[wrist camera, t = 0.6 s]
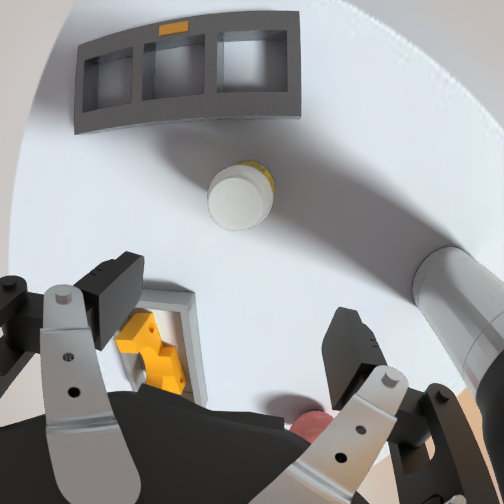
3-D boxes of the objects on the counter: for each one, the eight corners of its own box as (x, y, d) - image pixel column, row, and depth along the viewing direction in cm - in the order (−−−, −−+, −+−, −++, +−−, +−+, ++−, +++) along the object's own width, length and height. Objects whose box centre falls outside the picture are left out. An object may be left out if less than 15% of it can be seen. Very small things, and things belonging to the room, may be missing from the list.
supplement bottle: (224, 212, 31) (199, 240, 22) (221, 161, 30) (195, 169, 21) (275, 211, 31) (271, 241, 22) (275, 159, 29) (271, 166, 20)
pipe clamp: (187, 379, 41) (174, 410, 35) (161, 377, 42) (146, 407, 36) (164, 311, 37) (145, 340, 31) (136, 312, 38) (114, 339, 32)
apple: (343, 419, 41) (348, 458, 34) (303, 433, 43) (303, 471, 36) (325, 395, 39) (329, 437, 32) (281, 410, 41) (279, 452, 34)
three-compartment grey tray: (298, 22, 23) (299, 10, 20) (299, 119, 27) (301, 116, 24) (92, 50, 26) (77, 45, 23) (89, 134, 30) (73, 135, 27)
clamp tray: (194, 292, 35) (187, 305, 32) (207, 399, 42) (203, 413, 39) (116, 285, 36) (105, 296, 33) (143, 388, 43) (136, 400, 40)
